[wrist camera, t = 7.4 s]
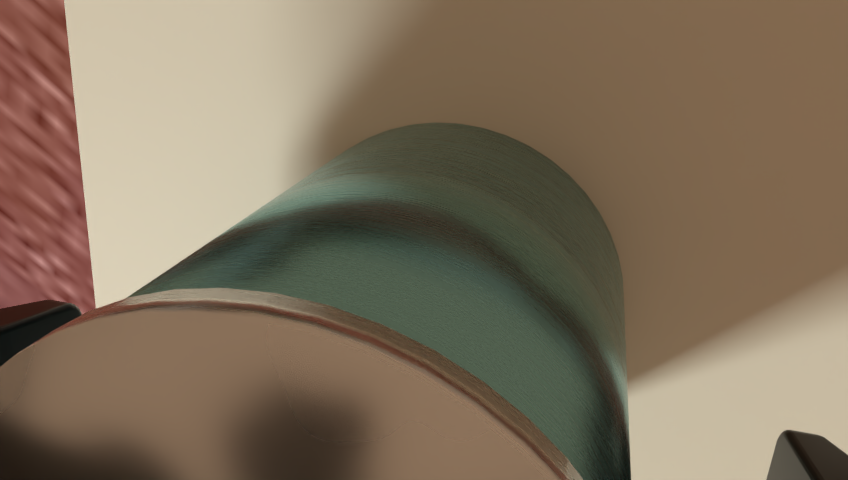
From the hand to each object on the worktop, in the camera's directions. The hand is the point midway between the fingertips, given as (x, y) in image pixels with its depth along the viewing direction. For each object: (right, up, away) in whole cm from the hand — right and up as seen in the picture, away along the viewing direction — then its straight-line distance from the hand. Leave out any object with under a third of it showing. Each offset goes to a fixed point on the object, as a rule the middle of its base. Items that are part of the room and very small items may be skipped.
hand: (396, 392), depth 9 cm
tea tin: (+1, +1, +3) cm, 3 cm away
